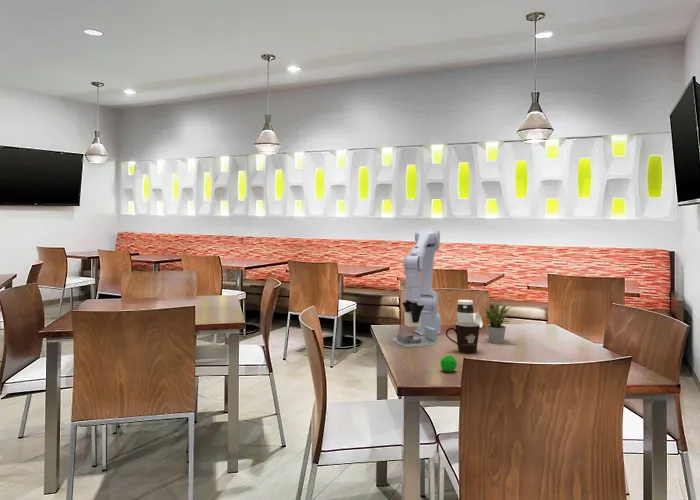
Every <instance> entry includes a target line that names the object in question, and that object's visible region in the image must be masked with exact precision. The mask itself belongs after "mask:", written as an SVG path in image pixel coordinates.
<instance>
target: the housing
mask: <svg viewBox="0 0 700 500" xmlns="http://www.w3.org/2000/svg"><path fill="white" fill-rule="evenodd" d="M404 325H405V326H407V327H417V326H421V314H420V318H419V322H418V323H413V321H412V313H411V312H406V311H404Z"/></svg>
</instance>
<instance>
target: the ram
mask: <svg viewBox="0 0 700 500" xmlns="http://www.w3.org/2000/svg"><path fill="white" fill-rule="evenodd" d="M423 336H424V337H426V338H428V339H430V340H434V341H437V339H438V334H437V330H436V329H434V328H432V327H429V326H428V327H424V335H423Z"/></svg>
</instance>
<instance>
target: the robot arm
mask: <svg viewBox="0 0 700 500" xmlns="http://www.w3.org/2000/svg"><path fill="white" fill-rule="evenodd" d="M414 241H415V243H416V244H415V245H413V246H412V248H411V250H410V251H409V254H408V255H407V256H405V257H404V258H403V269H404V275H405V295H403V297H402V300H403V301H404V302H402V303H401V304H402V306H403V308H404V312H411V313H412V321H413V323H418V322H419V318H420V314H421V326H416V329H413V332H414V333H416V334H418V335H419V336H424V327H428V326H429V327H432V328H434V329H436V330H437V335H438V334H439V335H440V334H442V332H441V315H440V313H439V312H438V308H439V296H438V295H439V294H438V293H437V292H436V291H435V290H434V289H433V277H434V266H435V265H434V262H435V255H436V252H437V251H439V250H440V245H441V233H440V230H439V229H418V228H417V229H416V231H415V232H414Z"/></svg>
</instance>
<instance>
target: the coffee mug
mask: <svg viewBox="0 0 700 500" xmlns="http://www.w3.org/2000/svg"><path fill="white" fill-rule="evenodd" d="M480 329H481V328H480V324H478V323H473V322H458V323H457V322H455V328H454V327H449V328H447V329H446V330H445V336H446V338H448V339H449V341H451V342H453V343H454V344H456V346H457V350H458V351H457V352H459V353H461V354H465V355H467V354H470V355H471V354H472V355H473V354H476V353H477V351H478V350H477V349H478V342H479V341H478V340H479V334H480ZM451 330H453V331H454V332H455V334H456V340H457V341H455V340H453V339H452V338H450V336H449V335H448V331H451Z"/></svg>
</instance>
